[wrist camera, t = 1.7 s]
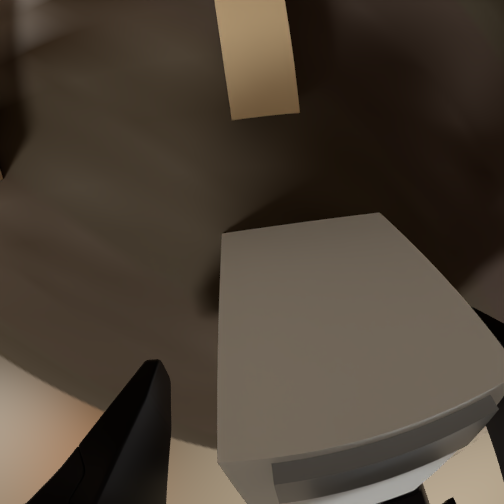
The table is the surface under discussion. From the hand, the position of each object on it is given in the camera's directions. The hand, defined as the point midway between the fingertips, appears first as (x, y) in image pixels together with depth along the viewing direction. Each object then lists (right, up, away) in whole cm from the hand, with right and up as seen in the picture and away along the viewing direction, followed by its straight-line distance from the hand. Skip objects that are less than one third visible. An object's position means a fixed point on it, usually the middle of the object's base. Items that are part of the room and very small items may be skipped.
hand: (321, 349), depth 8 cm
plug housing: (0, +1, +2) cm, 2 cm away
